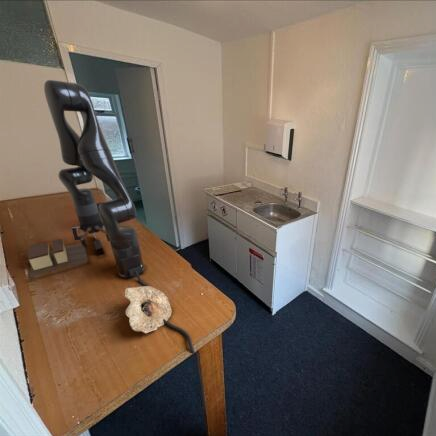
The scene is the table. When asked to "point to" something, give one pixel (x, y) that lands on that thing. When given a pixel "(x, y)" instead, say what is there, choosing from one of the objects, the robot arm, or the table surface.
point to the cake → (40, 255)
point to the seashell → (147, 308)
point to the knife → (98, 246)
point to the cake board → (74, 257)
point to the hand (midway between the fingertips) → (97, 243)
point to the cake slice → (59, 251)
